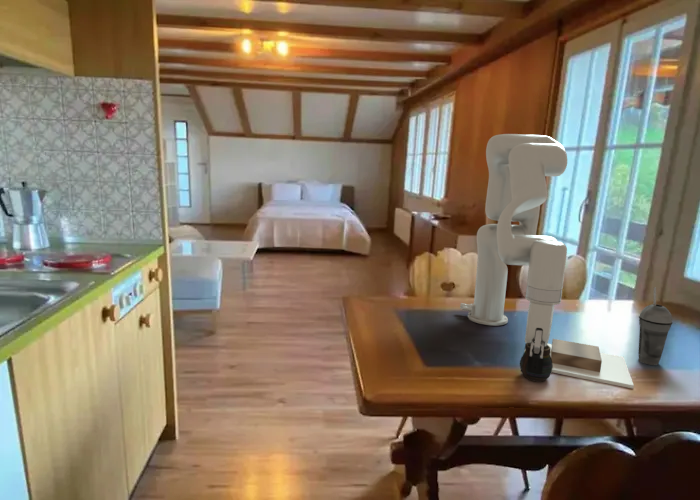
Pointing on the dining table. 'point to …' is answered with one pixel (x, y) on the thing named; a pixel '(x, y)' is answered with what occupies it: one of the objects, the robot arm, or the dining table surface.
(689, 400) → the dining table surface
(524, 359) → the mate gourd
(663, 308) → the beverage cup
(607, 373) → the board
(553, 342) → the walnut plinth
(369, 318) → the dining table surface
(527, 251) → the robot arm
